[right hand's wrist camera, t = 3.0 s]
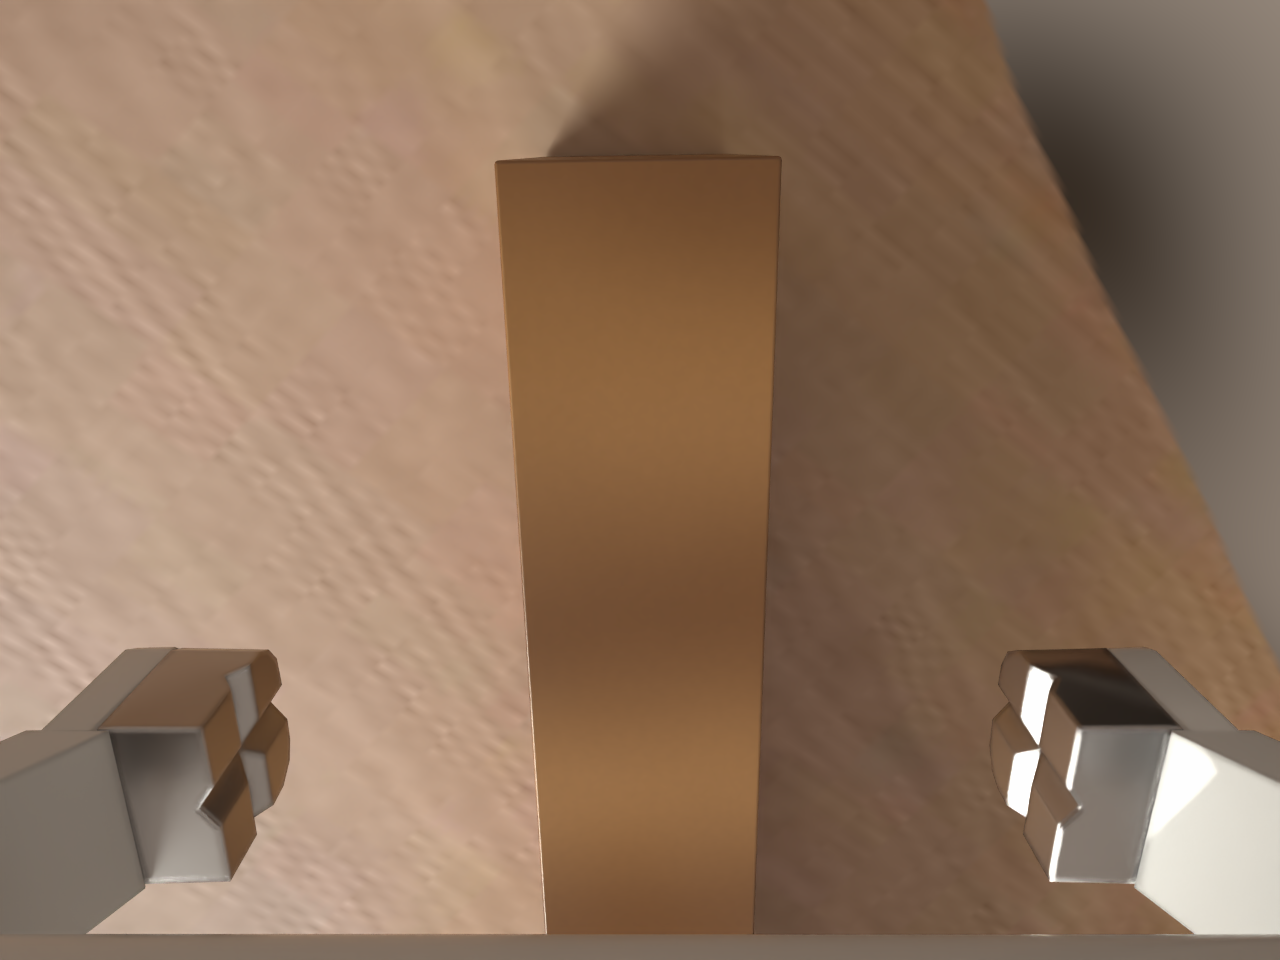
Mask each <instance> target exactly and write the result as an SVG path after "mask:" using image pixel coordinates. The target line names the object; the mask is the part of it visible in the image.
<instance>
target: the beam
mask: <svg viewBox="0 0 1280 960" xmlns="http://www.w3.org/2000/svg"><path fill="white" fill-rule="evenodd" d="M781 163H782V160H781V157H779V156H762V155H737V154H701V155H639V156H576V157H538V158H525V159H512V160H499V161H496V162H495V179H496V195H497V210H498V225H499V240H500V255H501V270H502V286H503V301H504V316H505V331H506V346H507V362H508V377H509V392H510V407H511V422H512V437H513V453H514V468H515V483H516V498H517V513H518V529H519V544H520V559H521V574H522V589H523V604H524V620H525V635H526V650H527V665H528V680H529V696H530V711H531V726H532V741H533V756H534V771H535V787H536V802H537V817H538V832H539V847H540V863H541V878H542V893H543V908H544V923H545V934H754V911H755V883H756V855H757V828H758V800H759V772H760V744H761V717H762V689H763V661H764V634H765V606H766V578H767V551H768V523H769V495H770V467H771V440H772V412H773V384H774V357H775V329H776V301H777V274H778V246H779V218H780V190H781Z"/></svg>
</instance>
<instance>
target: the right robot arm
mask: <svg viewBox="0 0 1280 960" xmlns="http://www.w3.org/2000/svg"><path fill="white" fill-rule="evenodd" d="M281 685H282V683H281V678H280V673H279V668H278V663H277V658H276V657H275V656H274V655H273V654H272V653H271V652H270V651H269V650H261V649H209V648H180V649H178V648H176V647H159V648H134V649H128V650H125V651H124V652H123V653H122V654H121V655H120V656H118V657H117V658H116V659H115V660H114V661H113V662H112V663H111V664H110V665H109V666H108V667H107V668H106V669H105V670H104V671H103V672H102V673H101V674H100V675H99V676H98V677H97V678H96V679H94V680H93V681H92V682H91V683H90V684H89V685H88V686H87V687H86V688H85V689H84V690H83V691H82V692H81V693H80V694H79V695H78V696H77V697H76V698H75V699H74V700H73V701H72V702H70V703H69V704H68V705H67V706H66V707H65V708H64V709H63V710H62V711H61V712H60V713H59V714H58V715H57V716H56V717H55V718H54V719H53V720H52V721H51V722H50V723H49V724H47V725H46V726H45V727H44V728H43V729H42V730H35V731H24V732H22V733H19V734H17V735H15V736H12V737H10V738H8V739H5V740H3V741H1V742H0V960H1280V742H1279V741H1277V740H1275V739H1272V738H1270V737H1268V736H1265V735H1263V734H1261V733H1258V732H1256V731H1245V730H1238V729H1237V728H1236V727H1235V726H1234V725H1233V724H1232V723H1231V722H1229V721H1228V720H1227V719H1226V718H1225V717H1224V716H1223V715H1222V714H1221V713H1220V712H1219V711H1218V710H1217V709H1216V708H1215V707H1214V706H1213V705H1212V704H1211V703H1210V702H1209V701H1208V700H1207V699H1206V698H1204V697H1203V696H1202V695H1201V694H1200V693H1199V692H1198V691H1197V690H1196V689H1195V688H1194V687H1193V686H1192V685H1191V684H1190V683H1189V682H1188V681H1187V680H1186V679H1185V678H1184V677H1183V676H1182V675H1181V674H1180V673H1178V672H1177V671H1176V670H1175V669H1174V668H1173V667H1172V666H1171V665H1170V664H1169V663H1168V662H1167V661H1166V660H1165V659H1164V658H1163V657H1162V656H1161V655H1160V654H1159V653H1158V652H1157V651H1155V650H1152V649H1149V648H1146V647H1129V648H1095V649H1055V650H1018V651H1008V652H1007V654H1006V656H1005V658H1004V661H1003V663H1002V665H1001V671H1000V677H999V683H998V685H999V687H1000V688H1001V690H1002V691H1003V693H1004V694H1005V696H1006V697H1007V699H1008V700H1009V703H1008V704H1007V705H1006V706H1005V707H1004V708H1003V709H1002V710H1001V711H1000V712H999V713H998V714H997V715H996V716H995V717H994V718H993V722H992V730H991V738H990V754H991V764H992V772H993V775H994V778H995V781H996V784H997V787H998V790H999V792H1000V793H1001V795H1002V797H1003V799H1004V801H1005V803H1006V805H1008V806H1009V807H1011V808H1012V809H1014V810H1015V811H1017V812H1018V813H1020V814H1022V815H1023V816H1025V817H1026V820H1025V826H1024V832H1023V835H1024V837H1025V839H1026V840H1027V842H1028V844H1029V846H1030V847H1031V849H1032V851H1033V853H1034V854H1035V856H1036V858H1037V860H1038V861H1039V863H1040V865H1041V867H1042V868H1043V870H1044V872H1045V874H1046V875H1047V877H1048V879H1049V881H1052V882H1088V883H1124V884H1135V887H1134V888H1136V889H1137V890H1138V891H1139V892H1141V893H1142V894H1143V895H1145V896H1146V897H1147V898H1149V899H1150V900H1151V901H1152V902H1154V903H1155V904H1156V905H1158V906H1159V907H1160V908H1162V909H1163V910H1164V911H1165V912H1167V913H1168V914H1169V915H1171V916H1172V917H1173V918H1175V919H1176V920H1177V921H1178V922H1180V923H1181V924H1182V925H1184V926H1185V927H1186V928H1187V929H1189V930H1190V931H1191V932H1193V933H1194V934H86V933H88V932H89V931H90V930H92V929H93V928H94V927H95V926H97V925H98V924H99V923H101V922H102V921H103V920H105V919H106V918H107V917H108V916H110V915H111V914H112V913H114V912H115V911H116V910H118V909H119V908H120V907H121V906H123V905H124V904H125V903H127V902H128V901H129V900H130V899H132V898H133V897H134V896H136V895H137V894H138V893H140V892H141V891H142V890H143V889H145V884H155V883H190V882H225V881H231V879H232V877H233V876H234V874H235V872H236V870H237V869H238V867H239V865H240V863H241V862H242V860H243V858H244V856H245V854H246V853H247V851H248V849H249V847H250V846H251V844H252V842H253V840H254V839H255V837H256V835H257V832H256V826H255V820H254V817H255V816H257V815H258V814H260V813H262V812H263V811H265V810H266V809H268V808H269V807H271V806H272V805H274V803H275V801H276V799H277V797H278V795H279V793H280V791H281V789H282V788H283V785H284V781H285V777H286V773H287V769H288V765H289V760H290V735H289V728H288V721H287V718H286V717H285V716H284V715H283V714H282V713H281V712H280V711H279V710H278V709H277V708H276V707H275V706H274V705H273V704H272V703H271V701H272V699H273V697H274V696H275V694H276V693H277V691H278V690H279V688H280V687H281Z"/></svg>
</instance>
